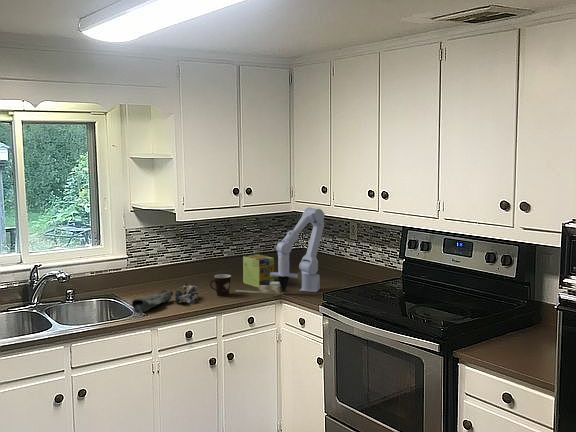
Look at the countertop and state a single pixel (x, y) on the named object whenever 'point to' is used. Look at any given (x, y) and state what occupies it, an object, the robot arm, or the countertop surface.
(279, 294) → the rail
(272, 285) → the marked cube
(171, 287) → the countertop surface
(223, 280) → the coffee mug
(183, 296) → the foil
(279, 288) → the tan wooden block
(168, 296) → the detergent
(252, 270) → the protein box
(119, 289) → the countertop surface
